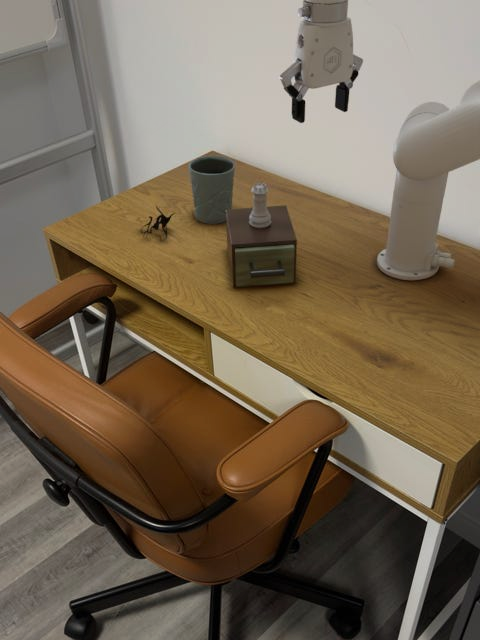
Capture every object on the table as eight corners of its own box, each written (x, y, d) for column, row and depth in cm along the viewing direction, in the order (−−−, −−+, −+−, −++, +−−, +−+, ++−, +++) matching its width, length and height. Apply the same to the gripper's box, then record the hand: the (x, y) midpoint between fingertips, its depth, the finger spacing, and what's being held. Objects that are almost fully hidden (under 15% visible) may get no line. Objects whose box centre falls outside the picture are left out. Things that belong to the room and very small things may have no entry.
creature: (158, 249, 155) (182, 229, 158) (152, 230, 151) (177, 209, 154) (134, 238, 159) (158, 218, 162) (127, 219, 154) (152, 199, 157)
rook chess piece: (269, 230, 138) (269, 191, 132) (247, 228, 139) (246, 189, 133) (272, 219, 141) (273, 180, 136) (251, 218, 142) (250, 179, 136)
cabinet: (295, 283, 142) (296, 239, 135) (233, 287, 141) (231, 244, 134) (285, 247, 152) (286, 205, 146) (227, 251, 152) (225, 209, 145)
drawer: (296, 294, 137) (298, 259, 131) (238, 299, 136) (237, 263, 131) (284, 248, 150) (284, 214, 144) (230, 252, 149) (229, 218, 144)
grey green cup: (186, 211, 166) (181, 160, 157) (225, 201, 169) (223, 151, 160) (203, 229, 159) (199, 177, 151) (243, 219, 162) (242, 168, 154)
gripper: (294, 24, 114) (292, 131, 126) (379, 8, 120) (369, 111, 132) (270, 14, 119) (269, 118, 130) (352, -1, 125) (345, 100, 136)
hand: (320, 115), depth 131 cm, fingers open, 9 cm apart
